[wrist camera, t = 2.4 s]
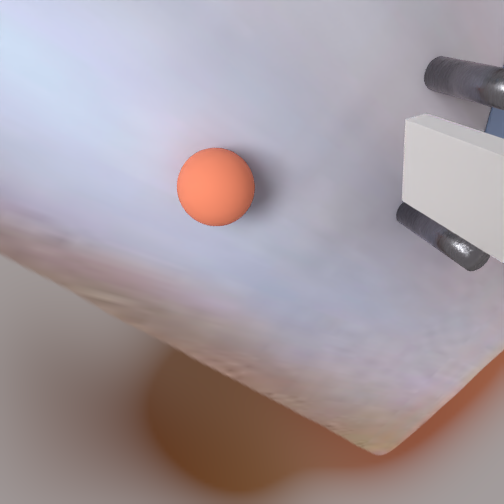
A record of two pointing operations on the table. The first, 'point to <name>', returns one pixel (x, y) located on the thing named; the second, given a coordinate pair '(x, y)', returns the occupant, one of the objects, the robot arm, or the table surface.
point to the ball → (215, 186)
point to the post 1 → (467, 80)
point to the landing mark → (496, 123)
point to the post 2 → (442, 238)
